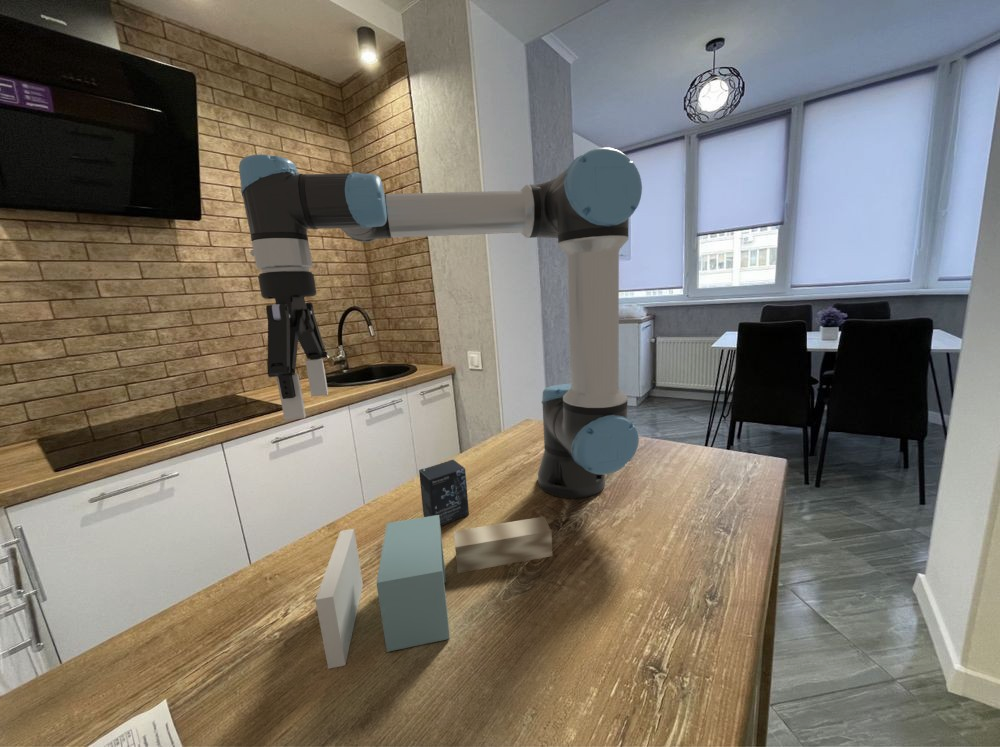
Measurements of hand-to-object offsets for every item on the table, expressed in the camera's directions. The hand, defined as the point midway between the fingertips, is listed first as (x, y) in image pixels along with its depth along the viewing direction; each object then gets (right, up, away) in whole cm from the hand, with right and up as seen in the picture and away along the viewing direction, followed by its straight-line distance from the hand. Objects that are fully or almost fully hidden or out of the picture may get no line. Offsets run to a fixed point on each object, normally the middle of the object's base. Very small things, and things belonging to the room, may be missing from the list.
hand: (309, 405), depth 64 cm
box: (+20, -24, +16) cm, 35 cm away
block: (+19, -29, -7) cm, 35 cm away
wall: (+10, -30, -8) cm, 32 cm away
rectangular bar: (+32, -26, +3) cm, 41 cm away
